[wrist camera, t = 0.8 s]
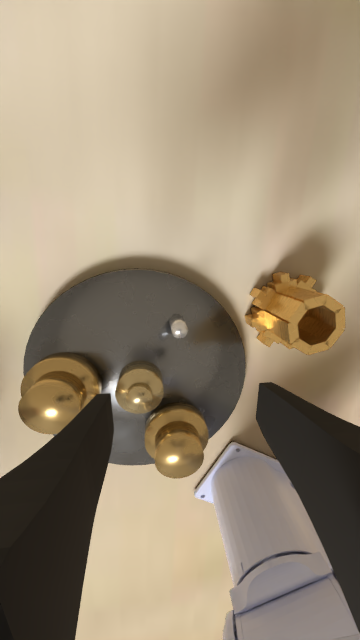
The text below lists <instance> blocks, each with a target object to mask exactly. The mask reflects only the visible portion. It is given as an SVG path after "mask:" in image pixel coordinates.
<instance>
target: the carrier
mask: <svg viewBox="0 0 360 640" xmlns="http://www.w3.org/2000/svg"><path fill="white" fill-rule="evenodd" d="M23 373H24V378H23V381H22V384H21V397H22V398H21V400H20V402H19V407H18V410H19V415H20V417H21V419H22V421H23V422H24V423H25V424H26V425H27V426H28V427H29V428H31V429H32V430H34V431H37V432H39V433H43V434H53V435H54V436H56V435H57V434H58V433H59V432H60V431H61V430H62V429H63V428H64V427H65V426H66V425H67V424H68V423H69V422H70V421H71V420H72V419H73V418H74V417H75V416H76V415H77V414H78V413H79V412H80V411H81V410H82V409H83V408H84V407H85V406H86V405H87V404H88V403H89V402H90V401H91V400H92V399H93V398H94V397H95V396H96V395H97V394H105V393H110V394H111V403H112V413H113V423H114V435H113V442H112V449H111V454H110V458H109V462H108V463H113V464H119V465H146V464H154V463H155V465H156V468H157V470H158V471H159V472H160V473H161V474H163V475H164V476H166V477H170V478H183V477H187V476H189V475H191V474H193V473H195V472H196V471H197V470H198V469H199V468H200V466H201V465H202V463H203V459H204V454H203V450H204V449H205V447H206V445H207V443H208V439H210V438H211V437H212V436H213V435H214V434H215V433H216V432H217V431H218V430H219V429H220V428H221V427H222V426H223V425H224V423H225V422H226V421H227V420H228V418H229V417H230V415H231V414H232V412H233V410H234V409H235V407H236V404H237V402H238V400H239V398H240V395H241V392H242V388H243V384H244V378H245V355H244V348H243V345H242V341H241V338H240V335H239V333H238V330H237V328H236V326H235V324H234V323H233V321H232V319H231V318H230V316H229V314H228V313H227V312H226V311H225V310H224V308H223V307H222V306H221V305H220V304H219V303H218V302H217V301H216V300H215V299H214V298H213V297H212V296H211V295H209V294H208V293H207V292H205V291H204V290H203V289H201V288H200V287H198V286H197V285H195V284H193V283H191V282H189V281H187V280H185V279H183V278H181V277H178V276H175V275H173V274H170V273H166V272H161V271H156V270H149V269H124V270H117V271H112V272H107V273H104V274H101V275H98V276H95V277H92V278H89V279H87V280H85V281H83V282H81V283H79V284H77V285H75V286H73V287H72V288H70V289H69V290H68V291H66V292H65V293H63V294H62V295H60V296H59V297H58V298H57V299H56V300H55V301H54V302H53V303H52V304H51V305H50V306H49V307H48V308H47V309H46V310H45V312H44V313H43V314H42V315H41V317H40V318H39V319H38V321H37V323H36V325H35V327H34V328H33V330H32V332H31V335H30V337H29V340H28V343H27V346H26V351H25V356H24V372H23Z"/></svg>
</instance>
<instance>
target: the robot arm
mask: <svg viewBox="0 0 360 640" xmlns="http://www.w3.org/2000/svg"><path fill="white" fill-rule="evenodd" d="M256 420H257V422H258V424H259V427H260V429H261V431H262V433H263V436H264V438H265V440H266V441H267V443H268V445H269V446H270V448H271V450H272V451H273V453H274V455H275V456H276V458H277V460H276V459H274V458H271V457H269V456H267V455H264V454H262V453H260V452H257V451H255V450H253V449H250V448H248V447H245V446H243V445H241V444H238V443H236V442H232V443H230V444H229V445H228V447H227V448H226V449H225V451H224V452H223V453H222V455H221V456H220V457H219V459H218V460H217V462H216V463H215V464H214V466H213V467H212V468H211V470H210V471H209V472H208V474H207V475H206V476H205V478H204V479H203V480H202V482H201V483H200V484H199V486H198V487H197V488H196V490H195V491H194V495H195V497H196V498H199V499H202V500H205V501H208V502H211V503H214V507H215V511H216V515H217V519H218V523H219V527H220V531H221V535H222V539H223V544H224V548H225V552H226V556H227V560H228V564H229V568H230V572H231V576H232V581H233V585H234V588H233V589H231V590H230V591H229V592H230V596H231V601H232V605H233V609H234V610H232V611H229V612H228V613H227V614H226V618H225V625H224V629H223V640H360V427H359V426H356V425H354V424H352V423H349V422H347V421H345V420H343V419H340V418H338V417H336V416H334V415H332V414H330V413H328V412H326V411H324V410H322V409H320V408H318V407H316V406H314V405H313V404H311V403H309V402H307V401H305V400H303V399H302V398H300V397H298V396H296V395H294V394H293V393H291V392H289V391H287V390H285V389H284V388H282V387H280V386H278V385H276V384H274V383H272V382H269V383H259V392H258V402H257V411H256ZM113 435H114V423H113V413H112V403H111V394H110V393H105V394H97V395H96V396H95V397H94V398H93V399H92V400H91V401H90V402H89V403H88V404H87V405H86V406H85V407H84V408H83V409H82V410H81V411H80V412H79V413H78V414H77V415H76V416H75V417H74V418H73V419H72V420H71V421H70V422H69V423H68V424H67V425H66V426H65V427H64V428H63V429H62V430H61V431H60V432H59V433H58V434H57V435H56V436H55V437H54V438H52V439H51V440H50V441H49V442H48V443H47V444H45V445H44V446H43V447H42V448H41V449H39V450H38V451H37V452H36V453H34V454H33V455H32V456H31V457H29V458H28V459H27V460H25V461H24V462H23V463H21V464H20V465H18V466H17V467H16V468H14V469H13V470H11V471H10V472H8V473H7V474H6V475H4V476H3V477H1V478H0V640H75V635H76V628H77V621H78V615H79V608H80V601H81V595H82V588H83V582H84V576H85V569H86V563H87V557H88V551H89V545H90V539H91V534H92V528H93V522H94V517H95V513H96V508H97V504H98V500H99V496H100V493H101V489H102V485H103V481H104V477H105V474H106V470H107V466H108V462H109V458H110V454H111V449H112V442H113ZM237 448H238V449H237Z"/></svg>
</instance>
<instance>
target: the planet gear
mask: <svg viewBox="0 0 360 640" xmlns="http://www.w3.org/2000/svg"><path fill="white" fill-rule="evenodd" d="M272 275H273V282H269V283H267V284H268V287H266V286H263V287H262V289H261V290H259V289H257V288H253V290H252V291H251V293H250V295H251V296H253V297H254V298H255V299H254V301H253V302H252V304H253V305H255V306H256V307H252V308H251V313H252V314H248V315H245V320H246V323H247V324H248V325H250V326H251V327H255V328H257V329H256V330H257V331H259V332H260V334H259V335H258V337H257V339H258V340H259V341H261V342H262V343H263V344H265V345H266V346H268V347H270V346H271V344H272V343H273V342H276V343H278V344H279V343H282V344H283V345H284V346H286V347H287V348H289V349H292V348H296V349H298V350H300V351H301V352H303V353H305V354H306V355H307V354H308V355H311V354H314V353H318V352H321V351H324V350H328V349H329V347H330V348H331V347H332V346H333V344H334V343H335V342H336V341H337V339H338V338H339V337H340V335H341V334H342V333H343V331H344V329H343V328H345V308H344V307H343V305H342V304H340V303H339V302H338V301H336V300H335V299H333V298H332V297H330V296H329V295H327V294H323V293H319V292H316V290H314V289H313V288H312V287H313V285H314V284H315V282H316V280H315V279H313V278H312V277H310V276H304V275H300V276H299V277H298V279H293V278H290V277H289V273H284V272H278V273H274V274H272Z"/></svg>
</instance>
